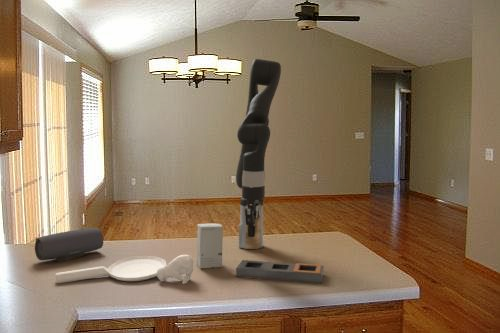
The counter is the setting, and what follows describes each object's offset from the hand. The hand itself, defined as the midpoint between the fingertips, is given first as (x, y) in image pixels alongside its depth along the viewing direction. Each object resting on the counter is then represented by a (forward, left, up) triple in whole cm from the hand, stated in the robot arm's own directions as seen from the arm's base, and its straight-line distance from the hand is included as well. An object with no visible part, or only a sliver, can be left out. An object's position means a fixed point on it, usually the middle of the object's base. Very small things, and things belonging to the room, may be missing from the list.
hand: (252, 234), depth 157 cm
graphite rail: (+9, 0, -13) cm, 16 cm away
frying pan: (-44, -13, -14) cm, 48 cm away
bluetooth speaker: (-71, +3, -14) cm, 72 cm away
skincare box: (-17, +5, -14) cm, 22 cm away
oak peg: (0, 0, -4) cm, 4 cm away
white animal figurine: (-23, -13, -14) cm, 29 cm away
